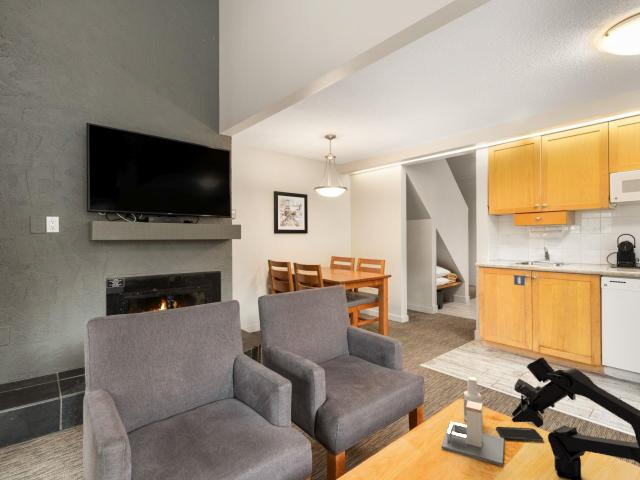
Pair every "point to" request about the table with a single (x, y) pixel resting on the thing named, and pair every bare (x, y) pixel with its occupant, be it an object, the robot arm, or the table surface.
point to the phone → (519, 434)
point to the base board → (479, 449)
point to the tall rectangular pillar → (474, 423)
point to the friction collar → (457, 434)
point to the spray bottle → (471, 393)
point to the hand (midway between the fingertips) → (512, 418)
